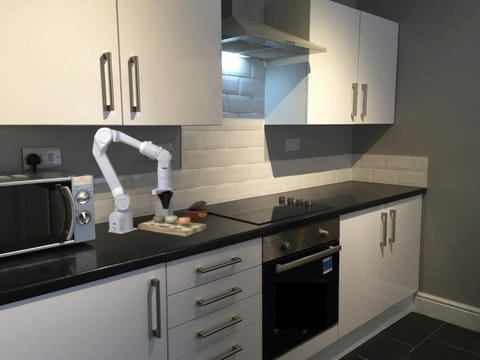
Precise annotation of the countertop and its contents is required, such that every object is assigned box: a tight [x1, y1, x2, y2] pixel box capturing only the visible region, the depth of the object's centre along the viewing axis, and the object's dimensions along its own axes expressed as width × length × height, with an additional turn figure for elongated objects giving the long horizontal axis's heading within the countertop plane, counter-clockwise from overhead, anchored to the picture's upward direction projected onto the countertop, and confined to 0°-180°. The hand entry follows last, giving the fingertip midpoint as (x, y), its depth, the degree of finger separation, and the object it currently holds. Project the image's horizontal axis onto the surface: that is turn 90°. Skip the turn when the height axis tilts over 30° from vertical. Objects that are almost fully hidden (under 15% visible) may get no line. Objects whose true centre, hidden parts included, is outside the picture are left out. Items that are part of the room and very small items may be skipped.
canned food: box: [187, 200, 209, 219], centre depth 208 cm, size 11×10×10 cm
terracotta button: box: [178, 216, 192, 224], centre depth 178 cm, size 5×5×2 cm
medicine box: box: [154, 198, 174, 219], centre depth 205 cm, size 8×4×9 cm, turn 59°
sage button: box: [166, 214, 179, 223], centre depth 182 cm, size 5×5×2 cm
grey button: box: [152, 216, 165, 223], centre depth 186 cm, size 5×5×2 cm
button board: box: [137, 219, 207, 237], centre depth 182 cm, size 14×26×2 cm, turn 59°
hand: (165, 208), depth 183 cm, fingers closed
